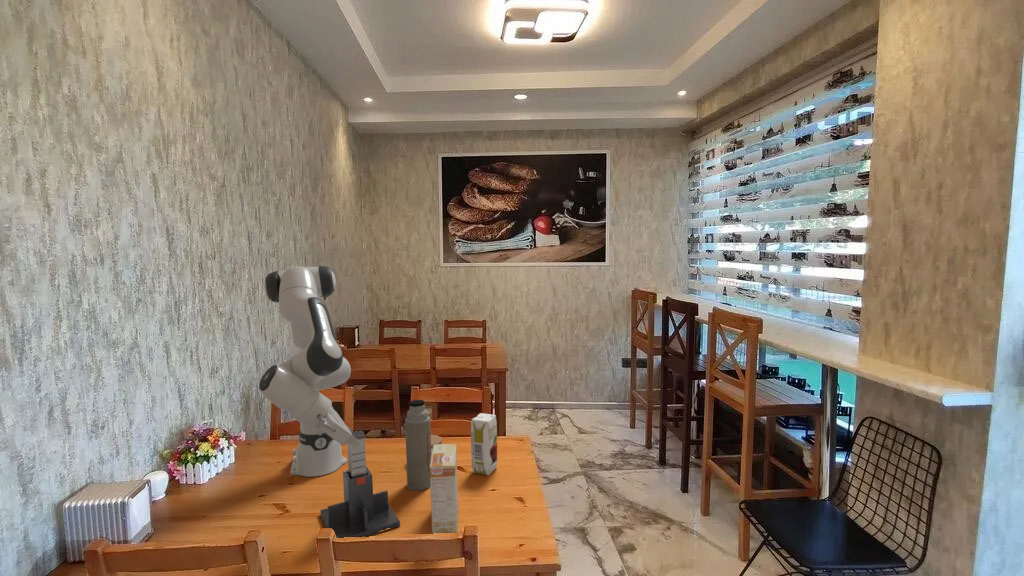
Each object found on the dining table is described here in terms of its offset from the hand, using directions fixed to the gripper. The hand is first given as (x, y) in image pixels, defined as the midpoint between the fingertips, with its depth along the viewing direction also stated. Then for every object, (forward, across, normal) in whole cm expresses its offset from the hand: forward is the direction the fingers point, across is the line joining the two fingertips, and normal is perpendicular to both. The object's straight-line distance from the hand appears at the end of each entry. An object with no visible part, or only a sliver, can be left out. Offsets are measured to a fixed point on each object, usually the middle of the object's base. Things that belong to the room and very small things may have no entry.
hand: (354, 438), depth 137 cm
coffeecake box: (+33, -13, +2) cm, 35 cm away
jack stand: (+18, 0, +17) cm, 24 cm away
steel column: (+16, 0, +15) cm, 22 cm away
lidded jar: (+40, +27, -5) cm, 48 cm away
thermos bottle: (+33, +11, +1) cm, 35 cm away
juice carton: (+50, +9, -15) cm, 52 cm away
